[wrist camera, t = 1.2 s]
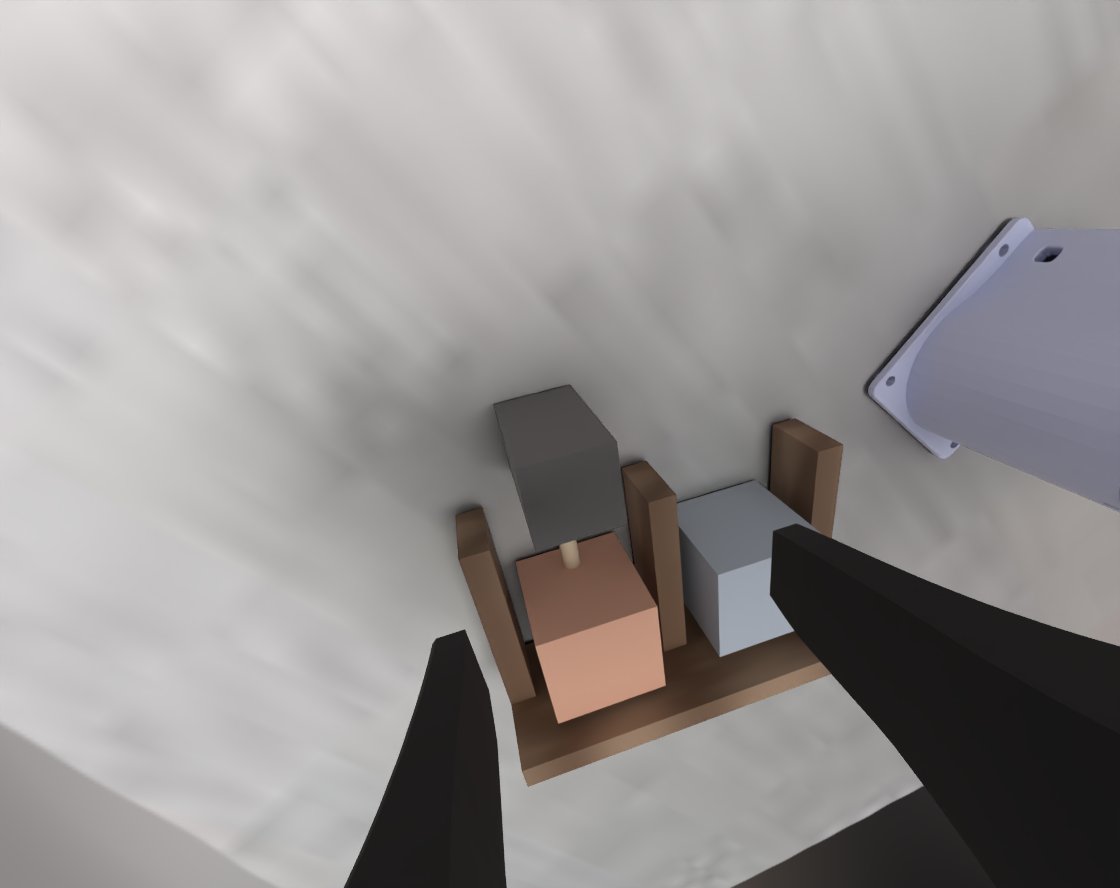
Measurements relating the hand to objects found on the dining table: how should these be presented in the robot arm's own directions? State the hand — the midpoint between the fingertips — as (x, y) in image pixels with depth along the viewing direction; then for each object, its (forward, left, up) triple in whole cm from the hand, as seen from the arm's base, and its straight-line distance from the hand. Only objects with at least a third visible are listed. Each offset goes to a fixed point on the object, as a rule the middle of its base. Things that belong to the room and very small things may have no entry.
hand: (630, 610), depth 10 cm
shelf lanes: (+2, +8, -10) cm, 13 cm away
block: (0, +11, -10) cm, 15 cm away
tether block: (+3, +3, -10) cm, 11 cm away
